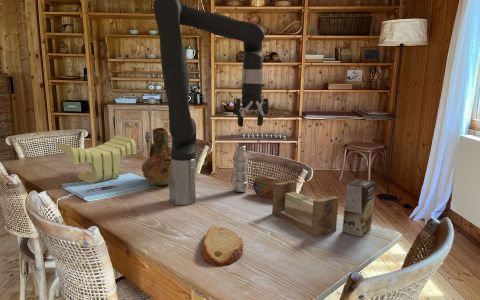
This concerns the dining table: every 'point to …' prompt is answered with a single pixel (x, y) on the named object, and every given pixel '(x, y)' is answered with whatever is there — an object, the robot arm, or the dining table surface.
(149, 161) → the ceramic vessel
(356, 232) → the coffee box
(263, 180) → the tin
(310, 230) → the holder
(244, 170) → the grey bottle
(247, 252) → the dining table surface
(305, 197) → the birch block
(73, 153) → the yellow slatted rack
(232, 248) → the slice of bread
